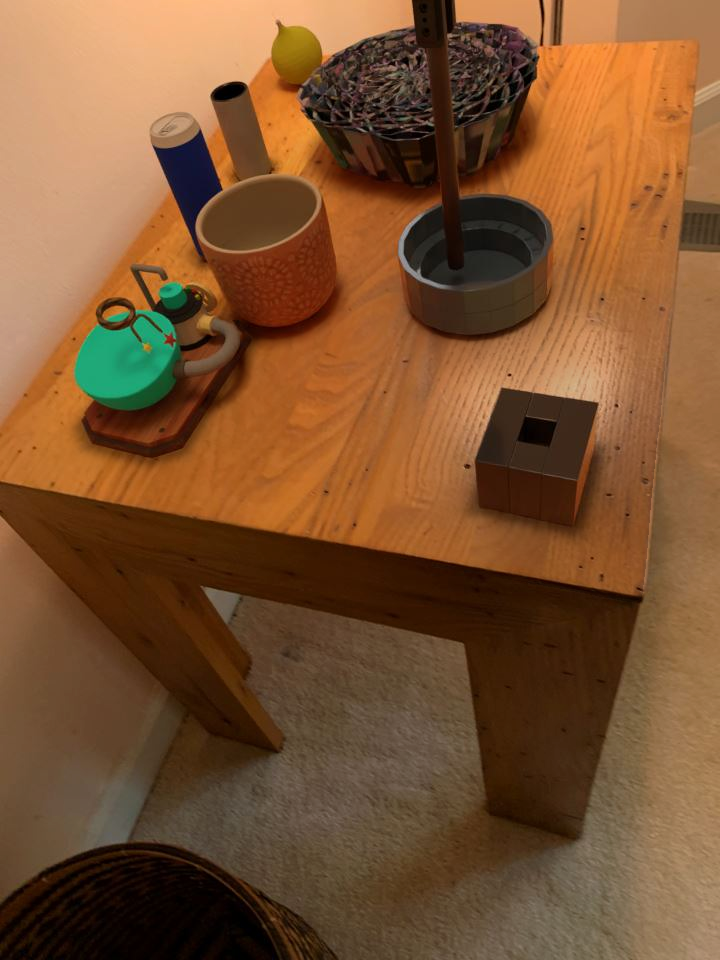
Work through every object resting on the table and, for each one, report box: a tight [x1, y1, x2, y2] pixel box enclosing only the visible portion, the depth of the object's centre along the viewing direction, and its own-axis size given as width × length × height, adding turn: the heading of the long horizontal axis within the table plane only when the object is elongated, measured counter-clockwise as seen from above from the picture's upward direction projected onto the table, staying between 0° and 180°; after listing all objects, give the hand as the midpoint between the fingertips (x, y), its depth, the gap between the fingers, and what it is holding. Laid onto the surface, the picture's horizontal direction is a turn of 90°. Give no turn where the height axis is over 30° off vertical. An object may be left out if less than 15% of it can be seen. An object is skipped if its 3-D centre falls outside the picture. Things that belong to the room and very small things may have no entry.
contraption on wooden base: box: [73, 263, 252, 458], centre depth 68 cm, size 14×18×15 cm
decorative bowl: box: [296, 21, 541, 189], centre depth 88 cm, size 26×28×10 cm
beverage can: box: [149, 111, 224, 260], centre depth 80 cm, size 5×5×15 cm
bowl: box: [397, 192, 554, 336], centre depth 71 cm, size 14×14×6 cm
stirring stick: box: [426, 41, 465, 270], centre depth 62 cm, size 2×2×26 cm
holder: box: [474, 387, 600, 527], centre depth 57 cm, size 7×7×6 cm
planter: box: [195, 173, 338, 328], centre depth 74 cm, size 12×12×11 cm
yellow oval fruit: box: [270, 14, 323, 86], centre depth 102 cm, size 7×7×10 cm
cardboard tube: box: [209, 80, 272, 181], centre depth 90 cm, size 4×4×10 cm
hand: (437, 37), depth 56 cm, fingers closed on stirring stick, 1 cm apart
